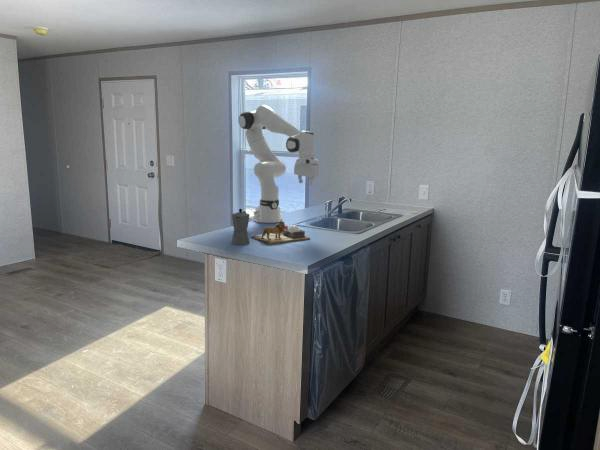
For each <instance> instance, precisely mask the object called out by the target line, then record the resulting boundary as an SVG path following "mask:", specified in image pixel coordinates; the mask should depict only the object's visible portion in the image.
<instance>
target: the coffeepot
mask: <svg viewBox="0 0 600 450" xmlns="http://www.w3.org/2000/svg"><path fill="white" fill-rule="evenodd" d="M231 218H232V226H233V232H232V233H233V234H232V237H231V238H232V240H231V243H232V245H234V244H235V245H234V246H246V244H247V245H249V244H250V240H249V233H248V227H249V221H250V214H249V213H247V212H246V211H245V210H243V209H242V208H239V209H238V212H235V213H234V212H233V213H231Z"/></svg>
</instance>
